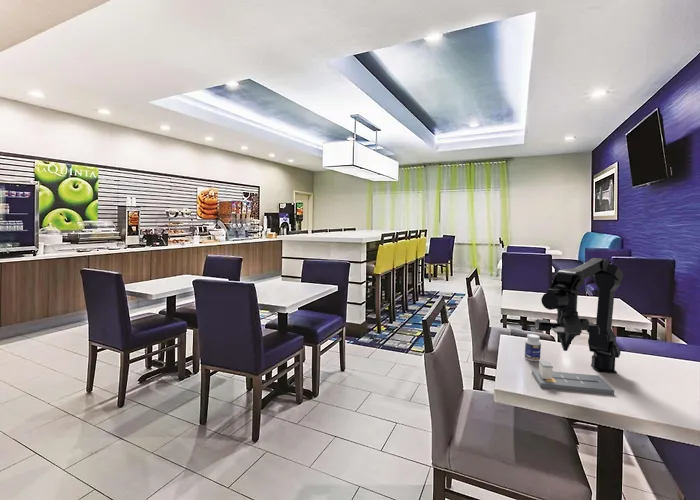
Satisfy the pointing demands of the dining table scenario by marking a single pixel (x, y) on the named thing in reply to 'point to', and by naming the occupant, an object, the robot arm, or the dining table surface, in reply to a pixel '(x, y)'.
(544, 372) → the fader
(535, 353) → the pill bottle
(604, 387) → the mixing board
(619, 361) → the dining table surface
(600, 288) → the robot arm
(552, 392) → the dining table surface
